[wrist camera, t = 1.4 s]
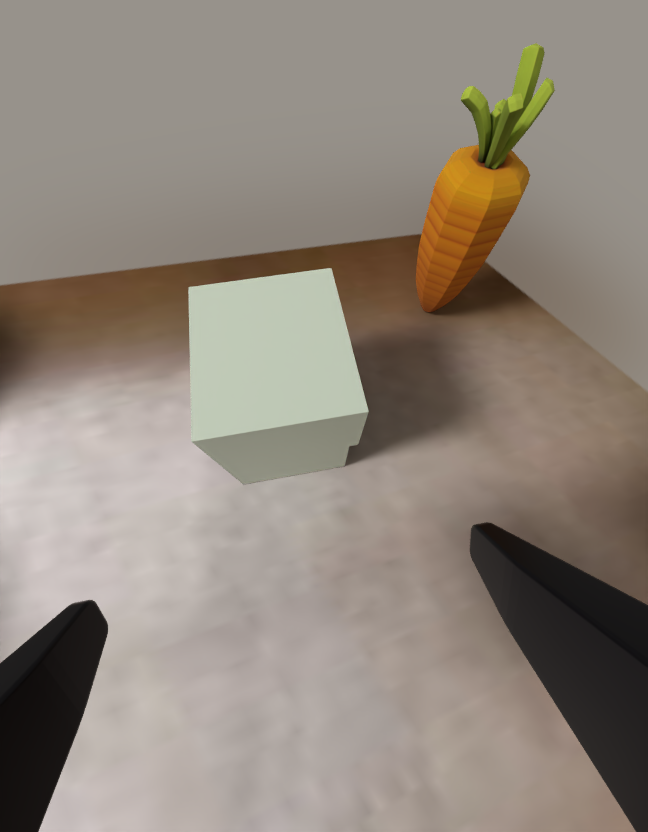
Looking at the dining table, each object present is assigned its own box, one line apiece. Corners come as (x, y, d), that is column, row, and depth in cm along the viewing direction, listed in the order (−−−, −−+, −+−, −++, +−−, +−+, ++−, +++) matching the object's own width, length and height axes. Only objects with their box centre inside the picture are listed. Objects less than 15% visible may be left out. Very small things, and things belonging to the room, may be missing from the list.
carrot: (428, 344, 26) (549, 102, 12) (385, 307, 27) (449, 54, 13) (468, 314, 27) (622, 62, 13) (426, 279, 28) (522, 21, 14)
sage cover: (351, 464, 22) (368, 411, 13) (243, 484, 21) (191, 441, 13) (328, 362, 25) (331, 268, 17) (234, 376, 24) (188, 287, 16)
